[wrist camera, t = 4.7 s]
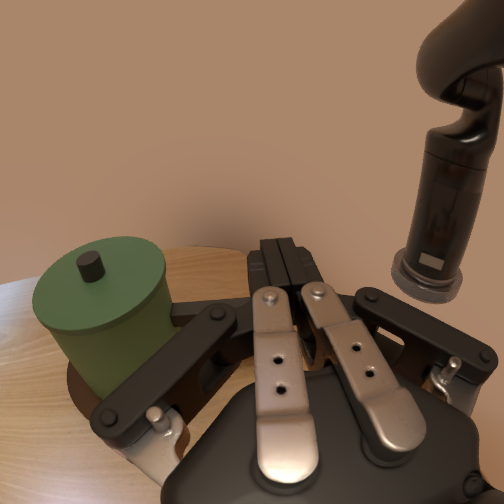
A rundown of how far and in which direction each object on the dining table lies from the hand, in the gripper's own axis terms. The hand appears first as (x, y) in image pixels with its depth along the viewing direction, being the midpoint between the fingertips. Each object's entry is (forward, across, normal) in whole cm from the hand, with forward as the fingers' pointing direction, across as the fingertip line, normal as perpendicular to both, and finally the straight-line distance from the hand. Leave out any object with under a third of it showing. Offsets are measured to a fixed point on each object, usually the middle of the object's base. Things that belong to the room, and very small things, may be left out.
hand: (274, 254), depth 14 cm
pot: (+5, +7, +15) cm, 17 cm away
